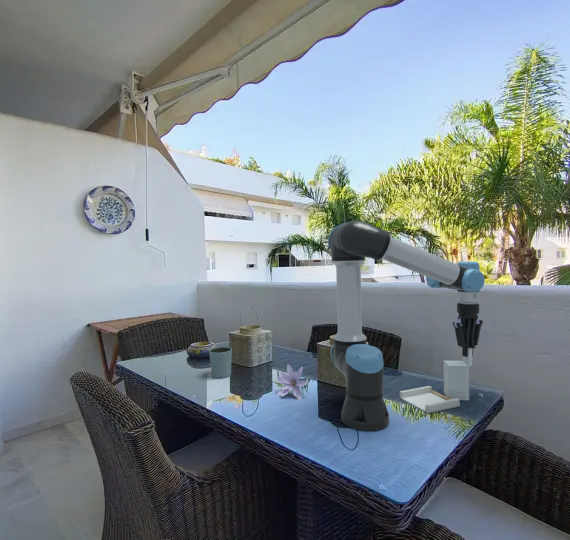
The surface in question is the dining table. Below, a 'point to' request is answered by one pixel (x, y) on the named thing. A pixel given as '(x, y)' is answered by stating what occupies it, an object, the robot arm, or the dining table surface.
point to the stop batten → (440, 395)
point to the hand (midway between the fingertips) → (467, 364)
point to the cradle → (427, 400)
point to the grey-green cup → (220, 362)
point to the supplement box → (456, 380)
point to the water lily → (291, 382)
